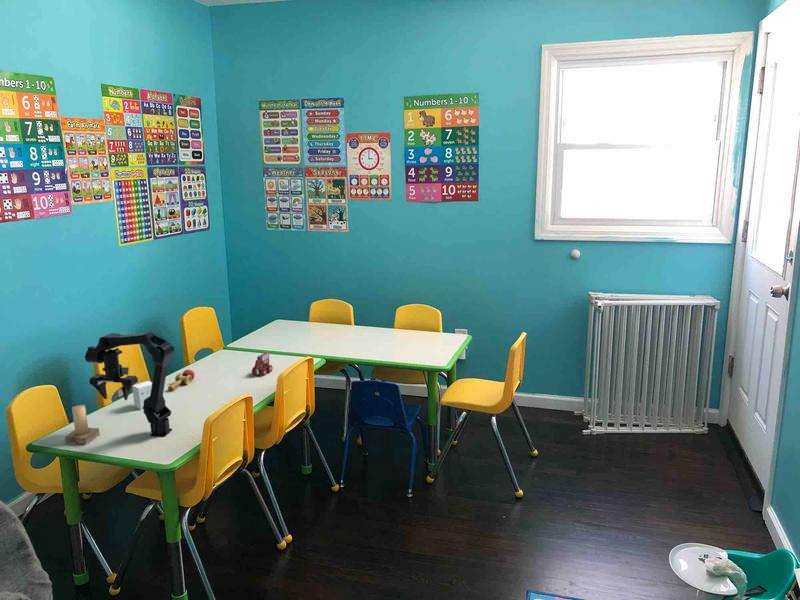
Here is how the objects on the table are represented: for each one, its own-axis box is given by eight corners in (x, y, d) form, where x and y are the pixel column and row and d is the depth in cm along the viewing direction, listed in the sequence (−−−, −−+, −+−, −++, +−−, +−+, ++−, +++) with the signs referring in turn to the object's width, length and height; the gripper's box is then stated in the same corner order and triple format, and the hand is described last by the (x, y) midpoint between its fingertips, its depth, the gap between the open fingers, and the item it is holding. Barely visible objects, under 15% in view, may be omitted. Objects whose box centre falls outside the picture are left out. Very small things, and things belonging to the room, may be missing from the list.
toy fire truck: (249, 376, 328) (248, 357, 326) (263, 368, 339) (262, 350, 337) (261, 378, 325) (259, 358, 323) (274, 370, 337) (273, 351, 334)
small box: (150, 401, 297) (148, 380, 294) (156, 404, 293) (154, 383, 291) (134, 407, 291) (131, 385, 288) (140, 410, 287) (138, 388, 285)
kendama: (179, 394, 308) (200, 377, 325) (175, 383, 306) (196, 366, 323) (166, 395, 311) (187, 378, 327) (162, 384, 309) (183, 367, 325)
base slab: (99, 434, 262) (98, 428, 262) (86, 444, 254) (85, 437, 253) (79, 433, 264) (78, 427, 263) (65, 443, 255) (64, 436, 254)
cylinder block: (90, 429, 261) (87, 404, 258) (85, 434, 256) (82, 409, 253) (78, 429, 260) (75, 404, 258) (73, 435, 256) (69, 409, 253)
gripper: (143, 358, 268) (147, 393, 272) (102, 356, 271) (106, 391, 275) (128, 367, 257) (132, 403, 261) (86, 365, 260) (90, 401, 264)
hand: (115, 399), depth 265 cm, fingers open, 9 cm apart
